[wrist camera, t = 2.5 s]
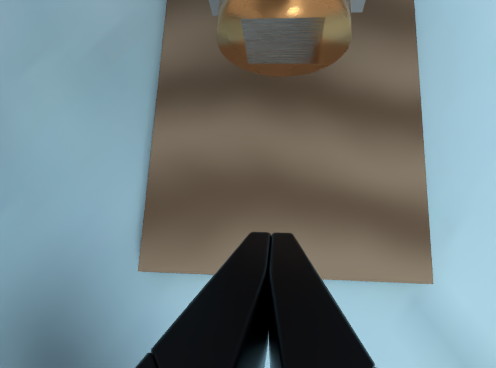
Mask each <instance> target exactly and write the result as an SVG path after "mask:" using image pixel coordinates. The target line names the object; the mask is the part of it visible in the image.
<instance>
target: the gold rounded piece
mask: <svg viewBox="0 0 496 368" xmlns="http://www.w3.org/2000/svg"><path fill="white" fill-rule="evenodd" d="M351 37H352V32H351V3H350V0H220V3H219V10H218V24H217V44H218V47H219V49H220V51H221V52H222V54H223V55H224V56H225V57H226V58H227V59H228V60H229V61H230V62H232V63H233V64H235V65H236V66H238V67H240V68H242V69H244V70H247V71H250V72H253V73H257V74H261V75H267V76H277V77H287V76H299V75H304V74H309V73H312V72H316V71H318V70H321V69H323V68H326V67H328V66H329V65H331V64H333V63H334V62H336V61H337V60H338V59H339V58H341V57H342V56H343V55H344V53H345V52H346V51H347V49H348V47H349V45H350V43H351Z"/></svg>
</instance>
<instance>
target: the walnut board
mask: <svg viewBox="0 0 496 368" xmlns="http://www.w3.org/2000/svg"><path fill="white" fill-rule="evenodd" d="M217 24H218V16H213V15H212V11H211V8H210V4H209V0H167V6H166V16H165V25H164V34H163V43H162V53H161V62H160V71H159V81H158V90H157V99H156V108H155V118H154V127H153V136H152V146H151V155H150V164H149V173H148V183H147V192H146V201H145V211H144V220H143V229H142V238H141V248H140V257H139V266H138V271H143V272H165V273H188V274H211V275H215V273H216V272H217V271H218V270H219V269H220V268H221V266H222V265H223V264H224V263H225V262H226V260H227V259H228V258H229V257H230V256H231V255H232V253H233V252H234V251H235V250H236V249H237V247H238V246H239V245H240V244H241V243H242V242H243V240H244V239H245V238H246V237H247V236H248V234H249V233H251V232H269V233H270V234H271V236H272V234H273V233H275V232H280V233H292V234H293V235H294V236H295V238H296V239H297V241H298V243H299V244H300V246H301V247H302V249H303V251H304V252H305V254H306V255H307V257H308V259H309V260H310V262H311V263H312V265H313V267H314V268H315V270H316V271H317V273H318V274H319V276H320V278H321V279H327V280H350V281H373V282H396V283H419V284H433V273H432V258H431V243H430V229H429V214H428V199H427V184H426V170H425V155H424V140H423V126H422V111H421V96H420V81H419V67H418V52H417V37H416V23H415V8H414V0H366V1H365V4H364V8H363V11H362V12H353V13H351V32H352V37H351V43H350V45H349V47H348V49H347V51H346V52H345V53H344V55H343V56H342V57H341V58H339V59H338V60H337V61H336V62H334V63H333V64H331V65H329V66H328V67H326V68H323V69H321V70H318V71H316V72H312V73H309V74H304V75H299V76H287V77H277V76H267V75H261V74H257V73H253V72H250V71H247V70H244V69H242V68H240V67H238V66H236V65H235V64H233V63H232V62H230V61H229V60H228V59H227V58H226V57H225V56H224V55H223V54H222V52H221V51H220V49H219V47H218V44H217Z"/></svg>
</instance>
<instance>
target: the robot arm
mask: <svg viewBox="0 0 496 368" xmlns="http://www.w3.org/2000/svg"><path fill="white" fill-rule="evenodd" d="M268 336H269V356H270V368H376V367H375V364H374V362H373V360H372V359H371V357H370V356H369V354H368V352H367V351H366V349H365V348H364V346H363V344H362V343H361V341H360V340H359V338H358V336H357V335H356V333H355V332H354V330H353V328H352V327H351V325H350V324H349V322H348V321H347V319H346V317H345V316H344V314H343V313H342V311H341V309H340V308H339V306H338V305H337V303H336V301H335V300H334V298H333V297H332V295H331V294H330V292H329V290H328V289H327V287H326V286H325V284H324V282H323V281H322V279H321V278H320V276H319V274H318V273H317V271H316V270H315V268H314V267H313V265H312V263H311V262H310V260H309V259H308V257H307V255H306V254H305V252H304V251H303V249H302V247H301V246H300V244H299V243H298V241H297V239H296V238H295V236H294V235H293V234H292V233H280V232H275V233H273V234H272V236H271V234H270V233H269V232H251V233H249V234H248V236H247V237H246V238H245V239H244V240H243V242H242V243H241V244H240V245H239V246H238V247H237V249H236V250H235V251H234V252H233V253H232V255H231V256H230V257H229V258H228V259H227V260H226V262H225V263H224V264H223V265H222V266H221V268H220V269H219V270H218V271H217V272H216V273H215V275H214V276H213V277H212V278H211V279H210V281H209V282H208V283H207V284H206V285H205V286H204V288H203V289H202V290H201V291H200V292H199V293H198V295H197V296H196V297H195V298H194V299H193V301H192V302H191V303H190V304H189V305H188V306H187V308H186V309H185V310H184V311H183V312H182V314H181V315H180V316H179V317H178V318H177V319H176V321H175V322H174V323H173V324H172V325H171V327H170V328H169V329H168V330H167V331H166V332H165V334H164V335H163V336H162V337H161V338H160V340H159V341H158V342H157V343H156V344H155V345H154V347H153V348H152V349H151V353H147V354H146V356H145V357H144V358H143V359H142V360H141V362H140V363H139V364H138V365H137V366H136V368H264V366H265V360H266V354H267V347H268Z"/></svg>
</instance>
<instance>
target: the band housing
mask: <svg viewBox="0 0 496 368" xmlns="http://www.w3.org/2000/svg"><path fill="white" fill-rule="evenodd" d="M365 1H366V0H350V3H351V13H353V12H362V11H363V8H364V4H365ZM219 3H220V0H209V4H210V8H211V11H212V15H213V16H218V10H219Z"/></svg>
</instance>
